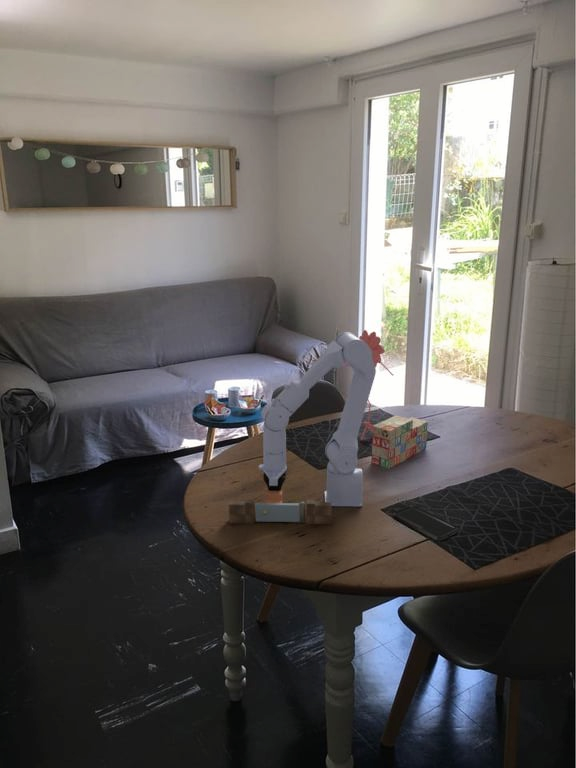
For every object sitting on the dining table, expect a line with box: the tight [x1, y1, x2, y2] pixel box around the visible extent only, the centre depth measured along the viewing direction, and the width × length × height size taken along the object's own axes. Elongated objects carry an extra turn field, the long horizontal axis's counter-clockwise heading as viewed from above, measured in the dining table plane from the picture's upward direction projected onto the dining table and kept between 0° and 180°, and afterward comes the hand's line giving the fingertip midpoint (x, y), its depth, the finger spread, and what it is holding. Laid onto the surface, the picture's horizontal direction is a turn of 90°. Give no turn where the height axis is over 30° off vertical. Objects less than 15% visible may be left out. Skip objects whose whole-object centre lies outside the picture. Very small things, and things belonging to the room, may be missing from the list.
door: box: [254, 501, 306, 523], centre depth 155 cm, size 12×2×5 cm, turn 89°
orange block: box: [265, 490, 283, 503], centre depth 159 cm, size 4×6×5 cm, turn 178°
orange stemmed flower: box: [344, 329, 394, 441], centre depth 210 cm, size 15×26×35 cm, turn 36°
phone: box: [392, 505, 459, 541], centre depth 155 cm, size 8×1×15 cm
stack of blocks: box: [370, 415, 429, 470], centre depth 194 cm, size 21×6×12 cm, turn 137°
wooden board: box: [228, 498, 333, 525], centre depth 155 cm, size 25×2×6 cm, turn 89°
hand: (274, 499), depth 163 cm, fingers closed
